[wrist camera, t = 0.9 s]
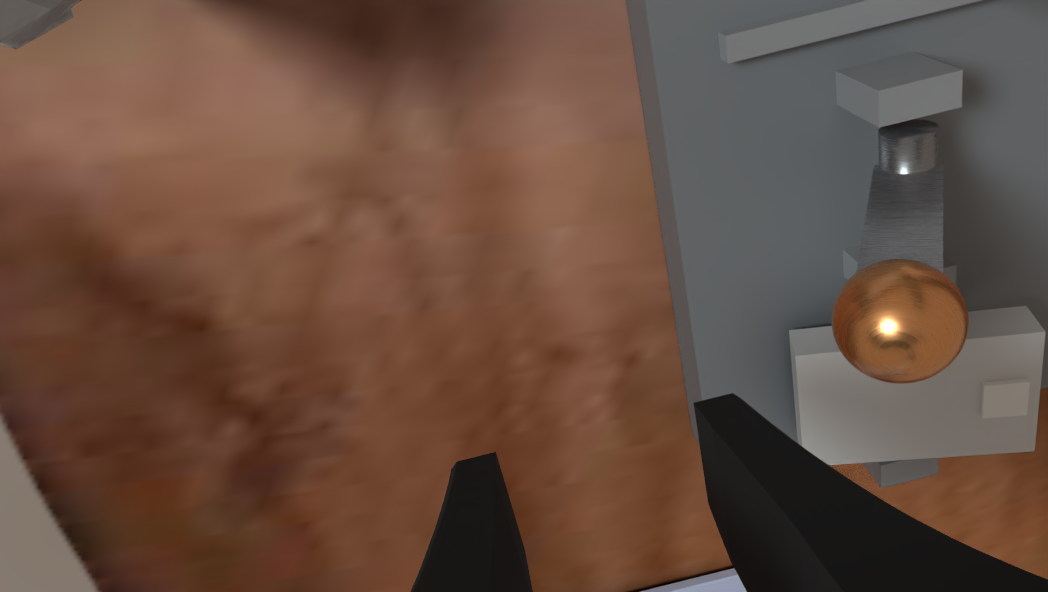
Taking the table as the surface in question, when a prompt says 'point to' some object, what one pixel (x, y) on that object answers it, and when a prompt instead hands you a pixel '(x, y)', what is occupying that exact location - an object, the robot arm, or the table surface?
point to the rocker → (923, 397)
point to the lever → (902, 268)
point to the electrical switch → (31, 19)
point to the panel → (832, 167)
